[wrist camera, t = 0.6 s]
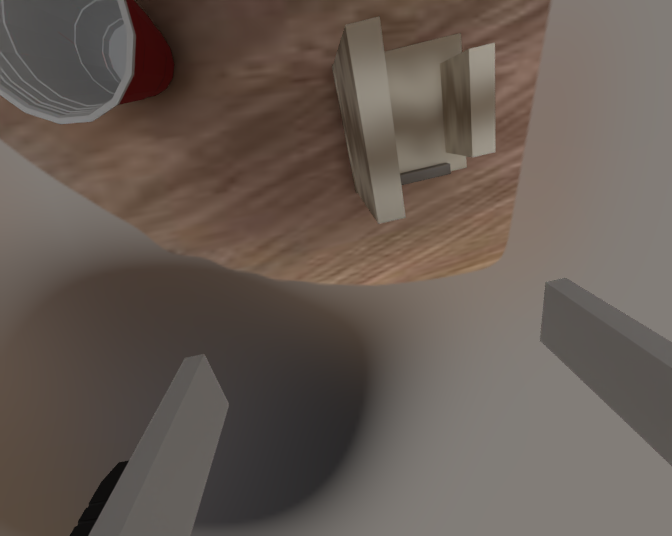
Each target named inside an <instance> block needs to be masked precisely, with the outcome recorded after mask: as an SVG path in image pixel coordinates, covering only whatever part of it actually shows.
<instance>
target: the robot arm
mask: <svg viewBox="0 0 672 536" xmlns="http://www.w3.org/2000/svg"><path fill="white" fill-rule="evenodd" d="M540 341H541V342H542V343H543V344H544V345H546V347H547V348H548V349H549V350H550V351H552V352H553V353H554V354H555V355H556V356H557V357H558V358H559V359H560V360H561V361H562V362H563V363H564V364H565V365H566V366H567V367H569V369H570V370H571V371H573V372H574V373H575V374H576V375H577V376H578V377H579V378H580V379H581V380H582V381H583V382H584V383H585V384H586V385H587V386H588V387H590V389H591V390H593V392H595V393H596V394H597V395H598V396H599V397H600V398H601V399H602V400H603V401H604V402H605V403H606V404H607V405H608V406H609V407H610V408H611V409H612V410H614V412H616V413H617V414H618V415H619V416H620V417H621V418H622V419H623V420H624V421H625V422H626V423H627V424H628V425H629V426H630V427H631V428H632V429H633V430H634V431H635V432H637V433H638V434H639V435H640V436H641V437H642V438H643V439H644V440H645V441H646V442H647V443H648V444H649V445H650V446H651V447H652V448H653V449H654V450H655V451H656V452H658V453H659V454H660V455H661V456H662V457H663V458H664V459H665V460H666V461H667V462H668V463H669V464H670V465H671V466H672V342H670V341H669V340H667V339H665V338H663V337H662V336H660V335H659V334H657V333H656V332H654V331H652V330H651V329H649V328H647V327H646V326H644V325H643V324H641V323H639V322H638V321H636V320H634V319H633V318H631V317H629V316H628V315H626V314H624V313H623V312H621V311H620V310H618V309H616V308H614V307H613V306H611V305H610V304H608V303H606V302H605V301H603V300H601V299H600V298H598V297H596V296H595V295H593V294H592V293H590V292H588V291H587V290H585V289H583V288H582V287H580V286H578V285H577V284H575V283H573V282H572V281H570V280H569V279H567V278H563V279H559V280H554V281H549V282H546V283H545V293H544V304H543V314H542V324H541V335H540ZM228 407H229V404H228V401H227V399H226V397H225V395H224V393H223V391H222V389H221V387H220V385H219V383H218V381H217V379H216V377H215V375H214V373H213V371H212V369H211V367H210V365H209V363H208V361H207V359H206V357H205V355H204V354H202V355H197V356H193V357H188V358H185V359H184V361H183V363H182V365H181V366H180V368H179V370H178V372H177V374H176V376H175V377H174V379H173V381H172V383H171V385H170V386H169V388H168V390H167V392H166V394H165V396H164V397H163V399H162V401H161V403H160V405H159V407H158V409H157V410H156V412H155V414H154V416H153V418H152V420H151V422H150V423H149V425H148V427H147V429H146V431H145V433H144V434H143V437H142V438H141V440H140V442H139V443H138V446H137V447H136V449H135V451H134V453H133V455H132V456H131V459H130V460H129V461H125V462H119V463H118V464H117V465H116V466H115V467H114V468H113V470H112V471H111V472H110V473H109V474H108V475H107V476H106V477H105V479H104V480H103V481H102V482H101V483H100V485H99V487H98V489H97V490H96V492H95V494H94V495H93V497H92V499H91V501H90V502H89V507H88V508H86V509H85V511H84V512H83V514H82V516H81V518H80V519H79V521H78V526H76V527H75V528H74V529H73V531H72V533H71V534H70V536H190V535H191V531H192V528H193V525H194V521H195V518H196V515H197V511H198V508H199V505H200V501H201V498H202V494H203V491H204V488H205V484H206V481H207V477H208V474H209V470H210V467H211V464H212V461H213V457H214V454H215V451H216V447H217V444H218V440H219V437H220V433H221V430H222V427H223V423H224V420H225V417H226V413H227V410H228Z"/></svg>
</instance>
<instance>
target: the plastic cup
mask: <svg viewBox="0 0 672 536" xmlns="http://www.w3.org/2000/svg"><path fill="white" fill-rule="evenodd" d="M173 71H174V61H173V57H172V53H171V50H170V47H169V45H168V44H167V42H166V41H165V39H164V37H163V36H162V34H161V32H160V31H159V30H158V29H157V28H156V27H155V26H154V24H153V23H152V21H151V19H150V18H149V17H148V16H147V15H146V14H145V12H144V11H143V10H142V9H141V8H140V7H139V6H138V5H137V3H136V2H135V1H134V0H0V95H1V96H2V97H4V98H5V99H7V100H8V101H9V102H11V103H12V104H14V105H15V106H16V107H18V108H19V109H21V110H22V111H23V112H25V113H28V114H31V115H34V116H37V117H40V118H43V119H46V120H49V121H52V122H55V123H58V124H68V123H80V122H92V121H94V120H96V119H97V118H99V117H100V116H102V115H103V114H105V113H106V112H108V111H109V110H111V109H112V108H114V107H115V106H117V105H119V104H124V103H128V102H133V101H138V100H142V99H145V98H146V97H151V96H155V95H157V94H159V93H160V92H162V91H163V90H165V89H166V88H167V87H168V85H169V83H170V82H171V80H172V78H173Z"/></svg>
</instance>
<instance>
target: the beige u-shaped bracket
mask: <svg viewBox="0 0 672 536" xmlns="http://www.w3.org/2000/svg"><path fill="white" fill-rule="evenodd" d="M332 70H333V75H334V80H335V86H336V91H337V96H338V102H339V107H340V112H341V117H342V123H343V128H344V133H345V138H346V144H347V149H348V154H349V159H350V165H351V170H352V175H353V180H354V186H355V191H356V193H358V194H359V196H360V197H361V199H362V200H363V202H364V203H365V205H366V206H367V208H368V209H369V211H370V212H371V214H372V215H373V216H374V218H375V219H376V221H377V222H378V224H380V223H385V222H389V221H393V220H398V219H402V218H406V217H405V210H404V202H403V194H402V186H401V185H404V184H409V183H413V182H417V181H422V180H426V179H430V178H434V177H439V176H443V175H447V174H451V171H454V170H458V169H462V168H467V165H466V156H468V157H476V156H481V155H485V154H489V153H493V152H495V43H492V44H487V45H483V46H479V47H475V48H471V49H468V50H466V51H464V52H462V45H461V33H459V34H455V35H451V36H446V37H442V38H438V39H434V40H430V41H426V42H422V43H418V44H414V45H410V46H406V47H402V48H398V49H394V50H390V51H386V52H384V46H383V38H382V31H381V23H380V16H379V17H375V18H371V19H367V20H363V21H359V22H355V23H351V24H347V25H345V28H344V31H343V34H342V37H341V41H340V44H339V47H338V51H337V54H336V57H335V60H334V64H333V65H332Z"/></svg>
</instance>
